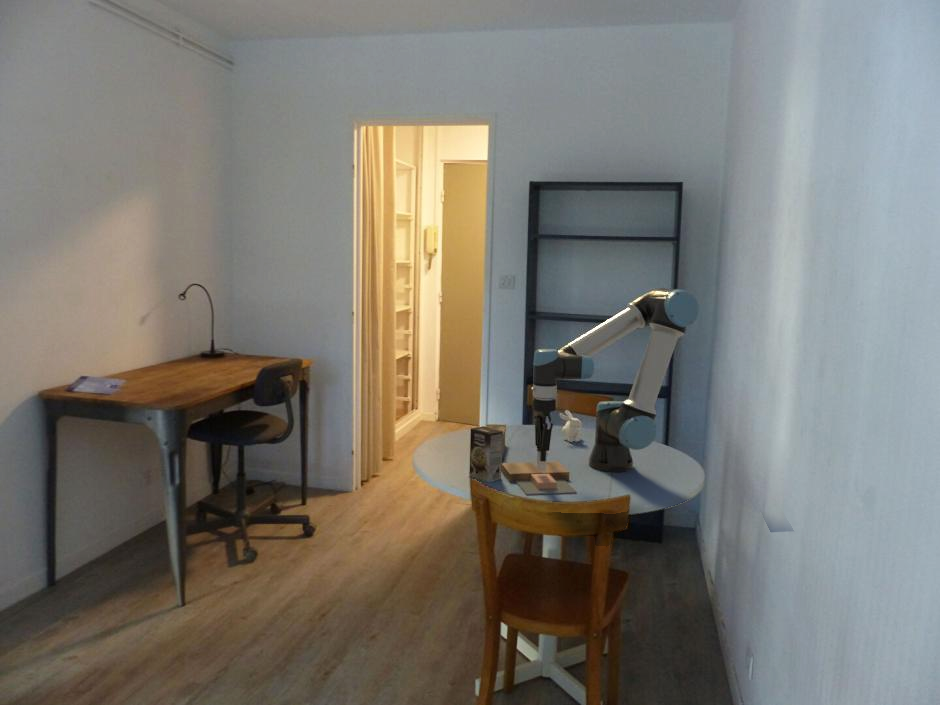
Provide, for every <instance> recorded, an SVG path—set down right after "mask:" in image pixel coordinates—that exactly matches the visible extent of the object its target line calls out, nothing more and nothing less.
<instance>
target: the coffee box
mask: <svg viewBox="0 0 940 705" xmlns="http://www.w3.org/2000/svg"><path fill="white" fill-rule="evenodd" d="M502 443H503V431H499V430H496V429H492V428H488V427H486V426H483V425H482V426H477V427H472V428H470V444H469V448H470V450H469V472H468V473H469V474H468V475H469V477H471V478H474V479H477V480H480V481H483V482H486V483H492V482H495V481H499V480H501V479H502V471H501V464H502V463H503V458H502Z"/></svg>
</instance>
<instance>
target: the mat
mask: <svg viewBox="0 0 940 705" xmlns="http://www.w3.org/2000/svg"><path fill="white" fill-rule="evenodd" d="M555 481H556V482H557V488H555V489H538V488H537V487H536V486H535V485H534V484H533V482H532V481H531V480H524V481H515V482H516V484H517V485H518V486H519V488H520V487H521V488H520V489H521V490H522V491H523V493H524V492H525V493H524V494H525V495H526V496H538V494H545V495H565V494H566V495H567V494H568V495H572V494H578V492H577V491H576V490H575V489H574V488H573V487H572V486H571V485H570V484H569V483H568V482H567V480H564V479H556V480H555Z"/></svg>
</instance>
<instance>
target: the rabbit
mask: <svg viewBox="0 0 940 705" xmlns="http://www.w3.org/2000/svg"><path fill="white" fill-rule="evenodd" d="M564 413H565V414H566V415H565V414H563V413H561V412H560V413H559V417H560V418H561V419H562V420H565V421H566V423H565V425H564V426H563V427H562V429H561V430H562V436H563V437H564V438H563V440H564V441H566V440H567V442H570V443H574V442H573V441H575V442H576V443H578V441H579V442H580V441H581V437H580V436H581V434H582V433H581V432H582V427H583V423H582V421H581V420H580V419H578V418H577V417H573V415H572V413H571V412H570V411H569V410H568V409H566V410H565V411H564Z"/></svg>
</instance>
